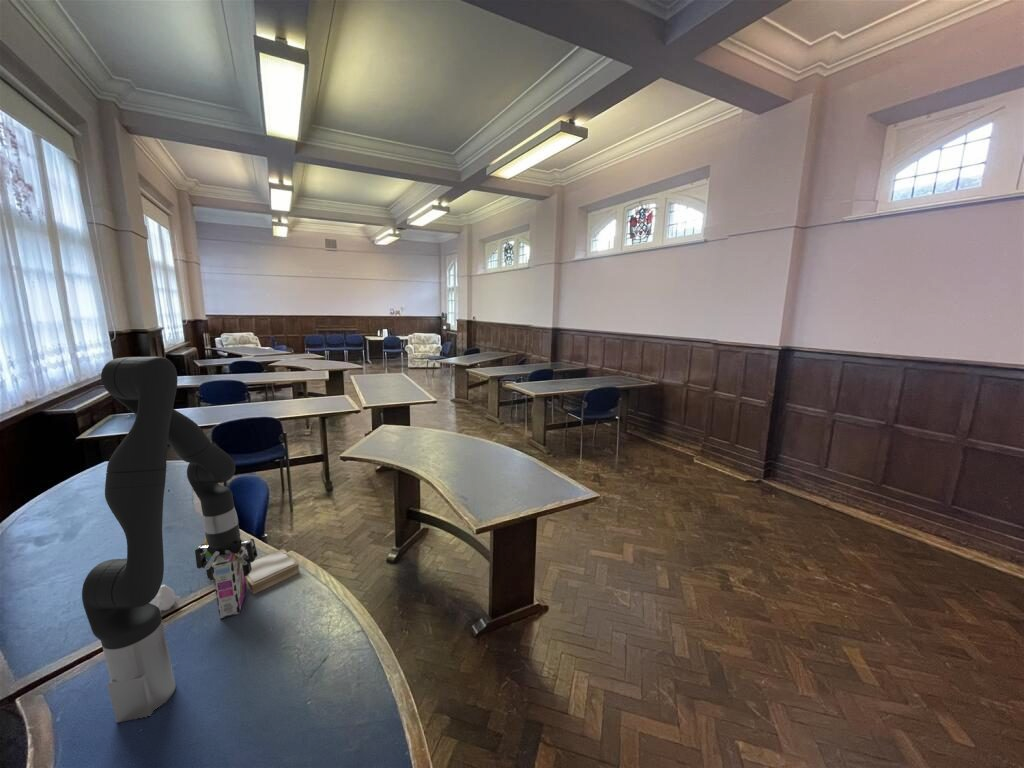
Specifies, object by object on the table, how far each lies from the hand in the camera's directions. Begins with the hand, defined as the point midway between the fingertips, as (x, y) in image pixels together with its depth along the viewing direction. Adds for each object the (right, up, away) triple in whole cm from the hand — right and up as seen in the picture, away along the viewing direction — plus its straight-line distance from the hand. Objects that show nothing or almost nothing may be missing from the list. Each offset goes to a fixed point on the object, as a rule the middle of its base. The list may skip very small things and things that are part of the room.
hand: (230, 576), depth 113 cm
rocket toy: (-18, -9, 0) cm, 20 cm away
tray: (+3, -6, +14) cm, 15 cm away
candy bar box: (0, -9, +1) cm, 9 cm away
